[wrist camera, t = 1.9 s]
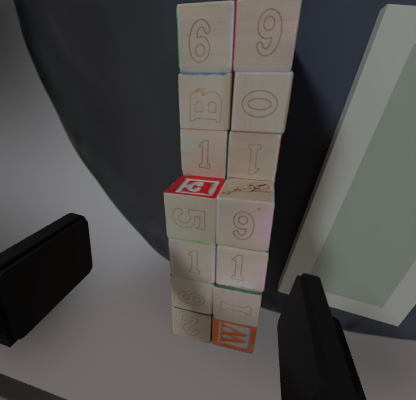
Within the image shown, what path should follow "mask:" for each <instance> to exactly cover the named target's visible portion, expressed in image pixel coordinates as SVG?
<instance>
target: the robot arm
mask: <svg viewBox="0 0 416 400" xmlns="http://www.w3.org/2000/svg"><path fill="white" fill-rule="evenodd" d="M91 269H92V255H91V246H90V237H89V229H88V222H87V220H86V219H85V217H84V216H82V215H78V214H74V213H69V214H67V215H65V216H63V217H62V218H60V219H58V220H57V221H55V222H53V223H51V224H50V225H48V226H46V227H44V228H43V229H41V230H39V231H38V232H36V233H34V234H33V235H31V236H29V237H27V238H25V239H24V240H22V241H20V242H18V243H17V244H15V245H13V246H12V247H10V248H8V249H6V250H5V251H3V252H1V253H0V344H3V345H6V346H8V347H11V346H12V345H13V344H14V343H15V342H16V341H17V340H18V339H21V338H23V337H24V336H26V335H27V334H28V333H29V332H30V331H31V330H32V329H33V328H34V327H35V326H36V325H37V324H38V323H39V322H40V321H41V320H42V319H43V318H44V317H45V316H46V315H47V314H48V313H49V312H50V311H51V310H52V309H53V308H54V307H55V306H56V305H57V304H58V303H59V302H60V301H61V300H62V299H63V298H64V297H65V296H66V295H67V294H68V293H69V292H70V291H71V290H72V289H73V288H74V287H76V285H78V284H79V283H80V282H81V281H82V280H83V279H84V278H85V276H87V275H88V274H89V273H90V271H91ZM277 330H278V348H279V365H280V383H281V398H282V399H281V400H366V397H365V394H364V391H363V388H362V385H361V382H360V379H359V377H358V374H357V371H356V368H355V365H354V362H353V359H352V356H351V353H350V350H349V347H348V344H347V341H346V338H345V335H344V332H343V330H342V327H341V324H340V322H339V320H338V319H337V318H334V317H332V314H331V311H330V308H329V305H328V302H327V298H326V295H325V292H324V289H323V286H322V282H321V279H320V277H318V276H315V275H311V274H307V273H303V274H302V275H301V276H300V275H297V276H296V279H295V281H294V283H293V286H292V288H291V291H290V293H289V296H288V298H287V301H286V303H285V305H284V308H283V310H282V313H281V315H280V318H279V320H278V327H277ZM0 400H66V399H64V398H61V397H59V396H56V395H54V394H51V393H49V392H46V391H44V390H41V389H39V388H36V387H34V386H31V385H28V384H26V383H23V382H21V381H18V380H15V379H13V378H10V377H8V376H5V375H3V374H0Z"/></svg>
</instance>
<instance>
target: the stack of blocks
mask: <svg viewBox="0 0 416 400" xmlns="http://www.w3.org/2000/svg"><path fill="white" fill-rule="evenodd" d="M301 5H302V0H236V1H215V2H204V3H190V4H178V5H177V11H176V14H177V35H178V59H179V69H180V73H179V76H178V82H179V106H180V126H181V131H180V142H181V160H182V171H183V174H184V175H183V176H181V177H180V178H178V179H177V180H176V181H175V182H174V183H173V184H172V185H171V186H170V187H169V188H168V189H167V190H166V191H165V192H164V203H165V214H166V227H167V236H168V237H169V255H170V267H171V274H170V282H171V297H172V305H173V306H172V324H173V333H174V334H177V335H181V336H185V337H188V338H192V339H195V340H199V341H202V342H205V343H210V342H211V341H212V343H213V344H215V345H218V346H222V347H226V348H230V349H234V350H238V351H242V352H246V353H253V351H254V344H255V337H256V330H257V326H258V322H259V314H260V306H261V297H262V292H263V291H264V287H265V279H266V273H267V265H268V256H269V246H270V238H271V230H272V223H273V215H274V208H275V185H274V183H275V178H276V171H277V165H278V158H279V152H280V146H281V139H282V134H283V133H284V132H285V126H286V120H287V115H288V109H289V102H290V95H291V89H292V82H293V75H294V73H293V71H292V64H293V57H294V51H295V44H296V38H297V31H298V24H299V18H300V12H301Z"/></svg>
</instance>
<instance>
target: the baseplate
mask: <svg viewBox="0 0 416 400" xmlns="http://www.w3.org/2000/svg"><path fill="white" fill-rule="evenodd" d="M303 273H307V274H311V275H315V276H318V277H320V279H321V282H322V286H323V289H324V292H325V295H326V298H327V302H328V305H329V306H330V307H333V308H336V309H340V310H343V311H347V312H350V313H354V314H357V315H360V316H364V317H367V318H371V319H374V320H378V321H381V322H384V323H388V324H391V325H395V326H399V325H400V323H401V322H402V321H403V319H404V318H405V317H406V316H407V314H408V313H409V312H410V311H411V309H412V308H413V307H414V305H415V304H416V6H408V5H394V4H387V5H386V6H385V7H384V8H382V9H381V10H380V12H379V15H378V18H377V20H376V23H375V26H374V28H373V31H372V34H371V36H370V39H369V42H368V44H367V47H366V50H365V52H364V55H363V58H362V60H361V63H360V66H359V68H358V71H357V74H356V76H355V79H354V82H353V84H352V87H351V90H350V93H349V95H348V98H347V101H346V103H345V106H344V109H343V111H342V114H341V117H340V119H339V122H338V125H337V127H336V130H335V133H334V135H333V138H332V141H331V143H330V146H329V149H328V151H327V154H326V157H325V159H324V162H323V165H322V167H321V170H320V173H319V176H318V178H317V181H316V184H315V186H314V189H313V192H312V194H311V197H310V200H309V202H308V205H307V208H306V210H305V213H304V216H303V218H302V221H301V224H300V226H299V229H298V232H297V234H296V237H295V240H294V242H293V245H292V248H291V250H290V253H289V256H288V259H287V261H286V264H285V267H284V269H283V272H282V275H281V277H280V280H279V283H278V292H281V293H285V294H288V295H289V293H290V291H291V288H292V286H293V283H294V281H295V279H296V276H297V275H300V276H301V275H302V274H303Z"/></svg>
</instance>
